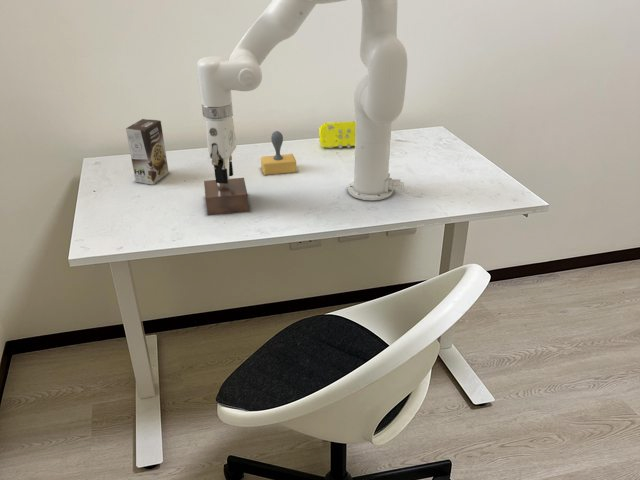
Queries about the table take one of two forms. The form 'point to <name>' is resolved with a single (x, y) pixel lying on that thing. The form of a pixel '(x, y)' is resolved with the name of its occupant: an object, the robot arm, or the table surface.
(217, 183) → the milkshake
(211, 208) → the brown square block
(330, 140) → the yellow toy chassis
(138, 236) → the table surface
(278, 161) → the rubber stamp
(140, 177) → the coffee box
